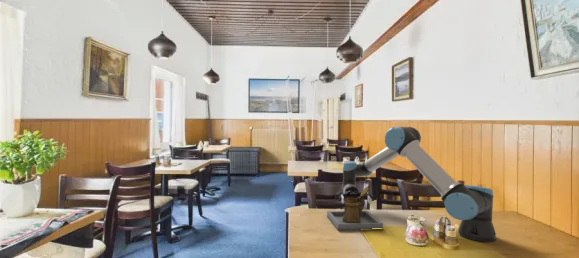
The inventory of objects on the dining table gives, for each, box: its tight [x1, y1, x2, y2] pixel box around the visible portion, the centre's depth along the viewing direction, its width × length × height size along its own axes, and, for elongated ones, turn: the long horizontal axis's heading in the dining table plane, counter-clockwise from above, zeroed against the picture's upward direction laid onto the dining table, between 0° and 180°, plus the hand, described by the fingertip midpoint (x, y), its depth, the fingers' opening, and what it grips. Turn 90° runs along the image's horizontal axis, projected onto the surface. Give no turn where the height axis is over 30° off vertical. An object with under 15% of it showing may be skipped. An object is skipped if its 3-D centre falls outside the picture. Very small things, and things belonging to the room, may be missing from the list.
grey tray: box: [326, 210, 384, 232], centre depth 165 cm, size 22×22×3 cm
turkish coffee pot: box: [343, 185, 371, 223], centre depth 165 cm, size 9×14×18 cm, turn 93°
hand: (356, 201), depth 161 cm, fingers open, 13 cm apart
